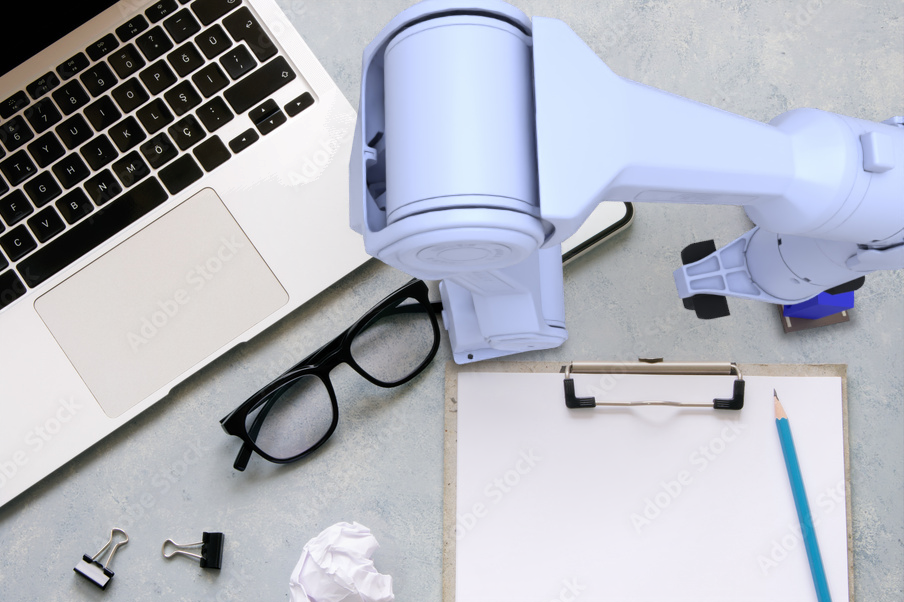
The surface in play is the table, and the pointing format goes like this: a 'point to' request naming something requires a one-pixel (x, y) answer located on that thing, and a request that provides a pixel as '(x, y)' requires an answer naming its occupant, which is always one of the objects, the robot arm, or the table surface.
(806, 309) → the cable clip
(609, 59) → the table surface
